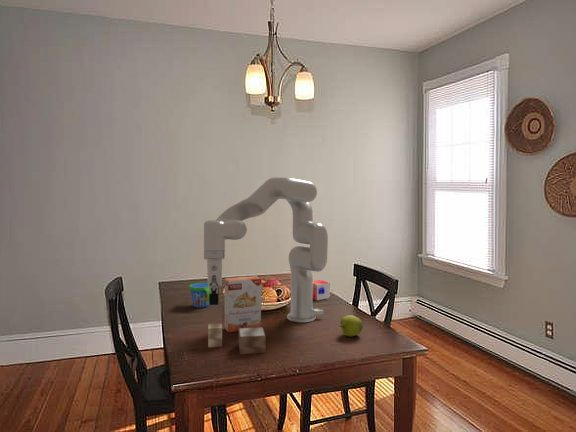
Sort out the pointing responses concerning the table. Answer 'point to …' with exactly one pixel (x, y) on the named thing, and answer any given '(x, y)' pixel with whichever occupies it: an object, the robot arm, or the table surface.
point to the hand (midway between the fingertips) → (213, 301)
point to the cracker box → (242, 303)
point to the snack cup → (200, 294)
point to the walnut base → (252, 340)
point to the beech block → (214, 335)
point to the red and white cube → (321, 290)
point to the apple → (351, 325)
